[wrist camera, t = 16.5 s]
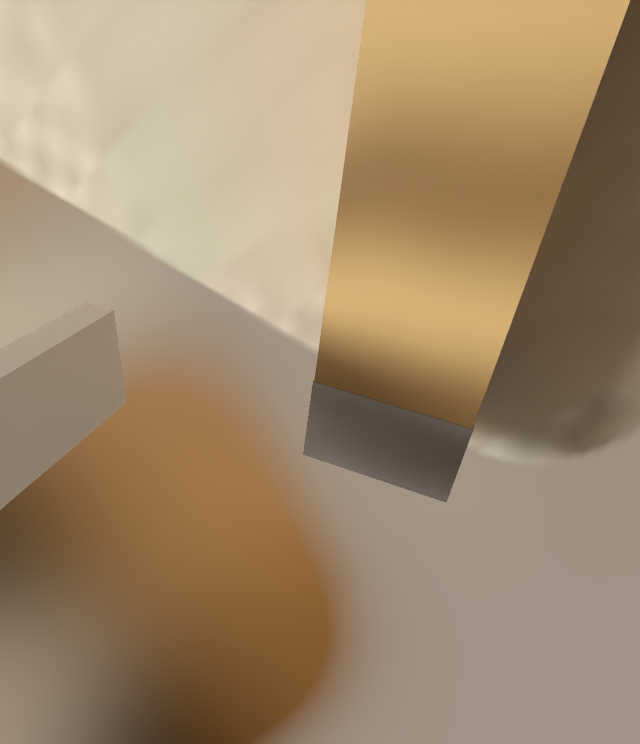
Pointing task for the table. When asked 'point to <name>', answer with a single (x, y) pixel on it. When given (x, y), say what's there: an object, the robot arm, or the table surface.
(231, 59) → the table surface
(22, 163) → the table surface
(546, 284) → the table surface
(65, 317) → the robot arm
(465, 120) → the tan long block
